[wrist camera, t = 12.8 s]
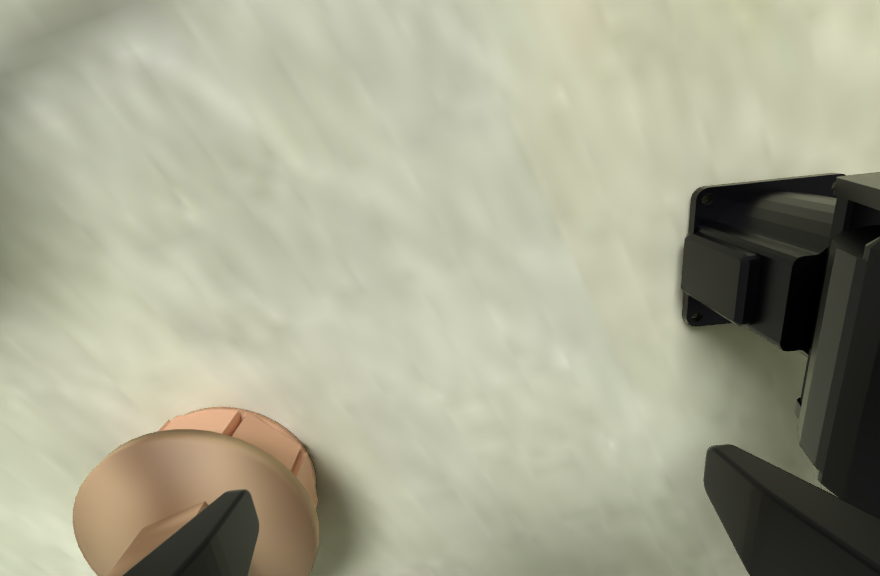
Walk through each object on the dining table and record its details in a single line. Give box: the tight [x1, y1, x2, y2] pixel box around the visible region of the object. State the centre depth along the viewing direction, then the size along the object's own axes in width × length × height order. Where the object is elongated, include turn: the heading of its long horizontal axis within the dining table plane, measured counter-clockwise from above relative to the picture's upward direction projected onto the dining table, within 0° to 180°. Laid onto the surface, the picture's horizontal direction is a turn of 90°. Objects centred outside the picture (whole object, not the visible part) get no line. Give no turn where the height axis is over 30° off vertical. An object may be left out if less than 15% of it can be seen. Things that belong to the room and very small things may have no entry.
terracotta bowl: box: [159, 407, 318, 508], centre depth 23 cm, size 9×9×3 cm
